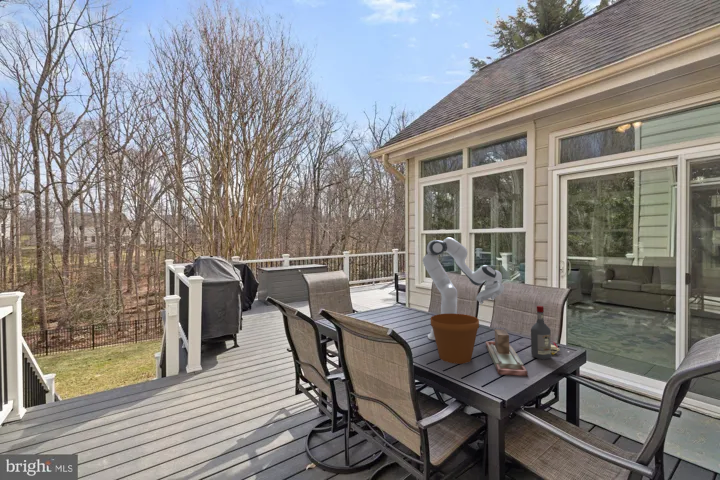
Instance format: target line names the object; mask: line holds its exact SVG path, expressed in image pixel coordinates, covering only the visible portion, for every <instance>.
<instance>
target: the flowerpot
mask: <svg viewBox="0 0 720 480" xmlns="http://www.w3.org/2000/svg"><path fill="white" fill-rule="evenodd" d="M430 326H431V329H432V328H433V332H434V336H435V340H434V341H435V344H436V348H437V352H438V356H439V359H440V360H441V361H444V362H446V363H450V364H455V365H456V364H457V365H458V364H459V365H460V364H466V363H470V362H471V361H472V359H473V352H474V350H475V349H474V348H475V344H476V338H477V333H478V329H479V328H480V320H479V318H477V317H476V316H473V315H470V314H462V313H457V314H441V313H439V314H435V315H432V316H430Z"/></svg>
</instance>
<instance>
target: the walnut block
mask: <svg viewBox="0 0 720 480" xmlns="http://www.w3.org/2000/svg"><path fill="white" fill-rule="evenodd" d="M494 342H495V347H496V349H497V351H498V353H503V354H509V344H510V334H509V333H508V332H507V330H506V329H501V328H500V329H499V328H498V329H497V328H495V329H494Z"/></svg>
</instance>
